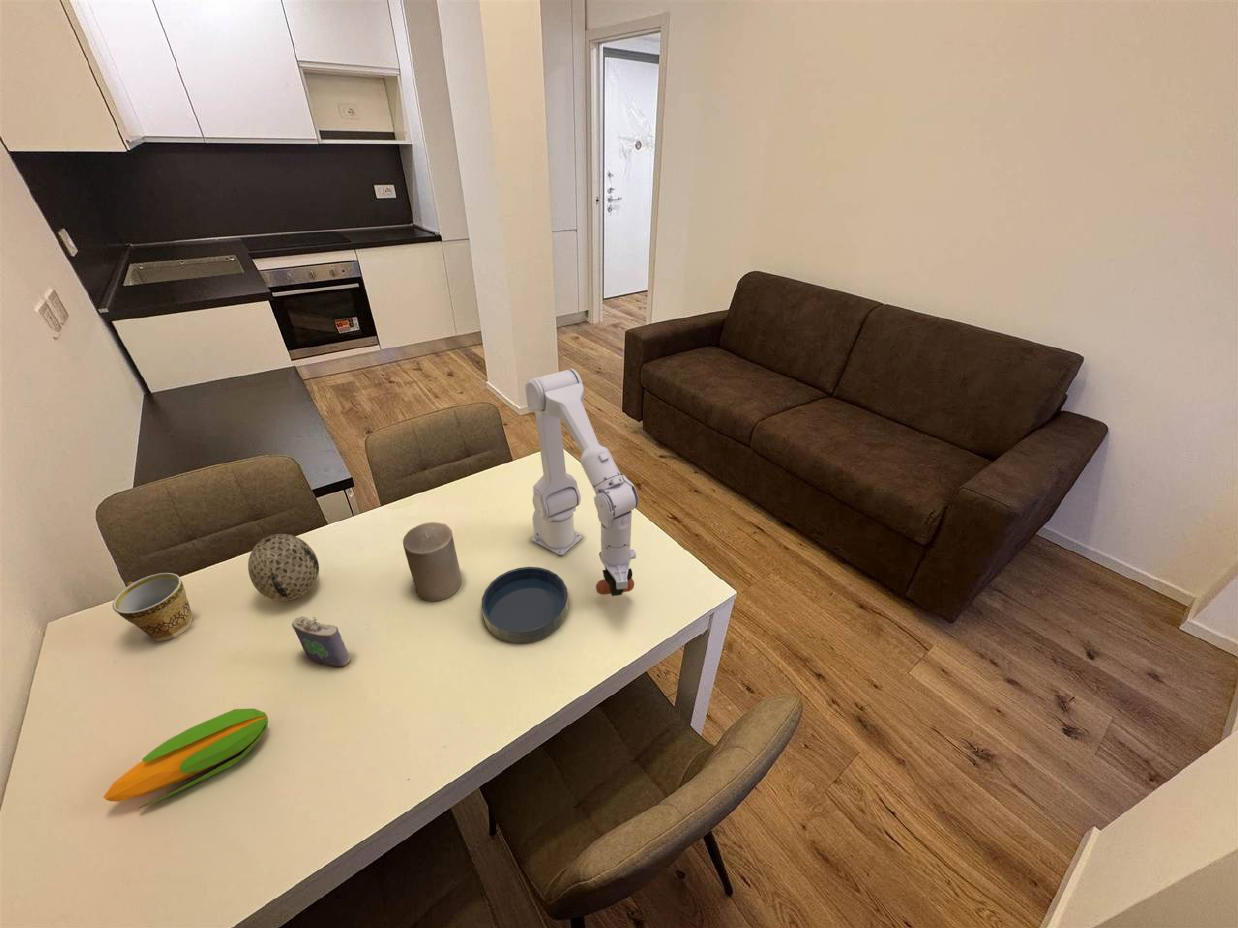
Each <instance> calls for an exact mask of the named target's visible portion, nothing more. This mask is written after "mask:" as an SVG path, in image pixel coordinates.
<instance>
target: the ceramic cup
mask: <svg viewBox="0 0 1238 928" xmlns="http://www.w3.org/2000/svg"><path fill="white" fill-rule="evenodd" d="M124 585H125V588H123V590H121V591H120V592H119V593H118V594H117V595H116V596H115V598H114V599H113V602H112V609H113V611H114V612H115V613H116V614H118V615H119V616H121V618H123V619H124V620H126V621H128V622H129V623H131V624H133V625H134V626H135V627H137V628H138V629H139V630H141V632H143V633H145V634H146V635H147V636H149V638H151V639H153V640H155V641H157V642H163V641H167V640H172V639H176V638H177V637H179V636H180V635H181V634H183V633H184V632H186V631H187V630H189V629H190V627H191V624H192V623H193V620H194V619H193V618H194V616H193V612H192V610H191V607H190V604H189V600H188V597H187V592H186V589H185V586H184V583H183V581H182V578H181V577H180V576H179V575H178V574H176V573H171V572H160V573H156V574H152V575H148V576H146V577H142V578H140V579H138V580H136V581H134V582H133V581H127V582H126V583H125V584H124Z"/></svg>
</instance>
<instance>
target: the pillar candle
mask: <svg viewBox="0 0 1238 928" xmlns="http://www.w3.org/2000/svg"><path fill="white" fill-rule="evenodd" d="M454 541H455V540H454V536H453V530H452V529H451V527H450V526H449V525H448V524H446V523H442V522H436V521H435V522H434V521H433V522H432V521H431V522H424V523H421V524H418V525H416V526H415V527H413V528H411V529H410V530H409V531H407V533H406V534H405V535H404V536H403V540H402V545H403V550H404V553H405V556H406V560H407V564H408V567H409V570H410V574H411V577H412V582H413V584H414V589H415V593H416V594H417V596H418V598H420V599H421V600H422V601H427V602H439V601H443V600H446V599H448V598H450V597H452V596H453V595H455V594H456V593H457V592H458V591H459V590H460V588H461V586H462V574H461V568H460V563H459V559H458V555H457V549H456V546H455V542H454Z"/></svg>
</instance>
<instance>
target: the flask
mask: <svg viewBox="0 0 1238 928" xmlns="http://www.w3.org/2000/svg"><path fill="white" fill-rule="evenodd" d="M317 621H318V618H316V617H315V616H313V617H312V619H310V618H308V617H306V616H300V617H299V616H298V617H296V618H295V619H294V620H293V621H292V623H291V626H292V628H293V630H294V632H295V634H296V636H297V639H298V640H299V642H300V643H299V644H300V645H301V647H302V649H303V651H304V653H305V656H306V658H307V659H308V660H310V661H312V662H313V663H315V664H318V665H324V666H327V667H333V668H344V667H346V666H348V665H349V664H350V662H351V661H352V658H351V655H350V653H349V651H348V649H347V647H346V645H345V642H344V640H343V638H342V636H341V633H340V631H339V628H338V626H336V625H334V624H333V625H332V624H324V623H320V622H317Z"/></svg>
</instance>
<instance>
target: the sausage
mask: <svg viewBox="0 0 1238 928" xmlns="http://www.w3.org/2000/svg"><path fill="white" fill-rule="evenodd" d="M634 587H635V581H634V578H633V577H632V578H631V579H630V580H629V581H628V586H627V588H625V589H624V590H623V593H627V592H632V591H633V589H634ZM595 590H596V592H597V594H599V595H601V596H604V595H611V592H610V587H609V584H608V583H607V582H606V580H605V578H603V579H600V580H598V581H597V582H596V584H595Z"/></svg>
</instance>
